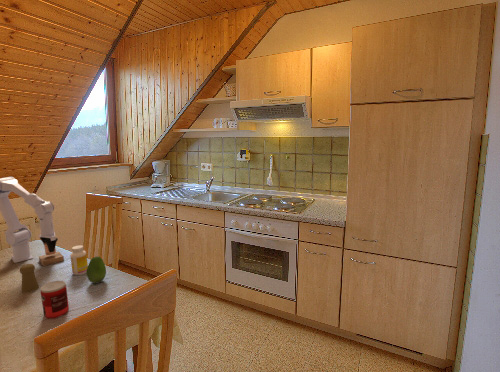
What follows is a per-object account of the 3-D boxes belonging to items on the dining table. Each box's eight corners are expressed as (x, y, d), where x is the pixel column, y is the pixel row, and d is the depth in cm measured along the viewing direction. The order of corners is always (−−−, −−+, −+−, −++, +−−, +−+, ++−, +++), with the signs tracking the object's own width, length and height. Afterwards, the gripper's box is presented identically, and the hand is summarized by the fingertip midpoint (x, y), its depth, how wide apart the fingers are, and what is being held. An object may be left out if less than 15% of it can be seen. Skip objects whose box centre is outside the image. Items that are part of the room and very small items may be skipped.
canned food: (51, 307, 113) (47, 280, 111) (73, 306, 114) (69, 279, 112) (39, 319, 106) (34, 291, 104) (62, 318, 106) (58, 290, 104)
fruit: (111, 279, 134) (108, 255, 132) (95, 288, 127) (92, 262, 125) (99, 276, 137) (96, 252, 135) (83, 284, 130) (80, 258, 128)
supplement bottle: (91, 269, 144) (88, 244, 142) (82, 275, 138) (79, 250, 136) (78, 268, 145) (75, 244, 143) (69, 275, 139) (66, 249, 136)
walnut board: (39, 261, 154) (38, 256, 154) (59, 255, 161) (58, 251, 160) (43, 266, 148) (43, 261, 148) (64, 260, 155) (63, 256, 154)
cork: (42, 286, 128) (38, 263, 126) (28, 293, 123) (24, 269, 121) (32, 284, 130) (29, 261, 128) (18, 291, 125) (14, 267, 123)
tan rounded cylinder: (44, 253, 153) (42, 243, 152) (54, 250, 157) (52, 241, 156) (47, 255, 151) (45, 245, 150) (57, 252, 154) (56, 243, 153)
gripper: (33, 224, 152) (36, 249, 155) (42, 230, 143) (46, 256, 146) (48, 221, 158) (52, 245, 160) (58, 226, 149) (62, 252, 151)
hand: (50, 250), depth 153 cm, fingers closed on tan rounded cylinder, 5 cm apart
